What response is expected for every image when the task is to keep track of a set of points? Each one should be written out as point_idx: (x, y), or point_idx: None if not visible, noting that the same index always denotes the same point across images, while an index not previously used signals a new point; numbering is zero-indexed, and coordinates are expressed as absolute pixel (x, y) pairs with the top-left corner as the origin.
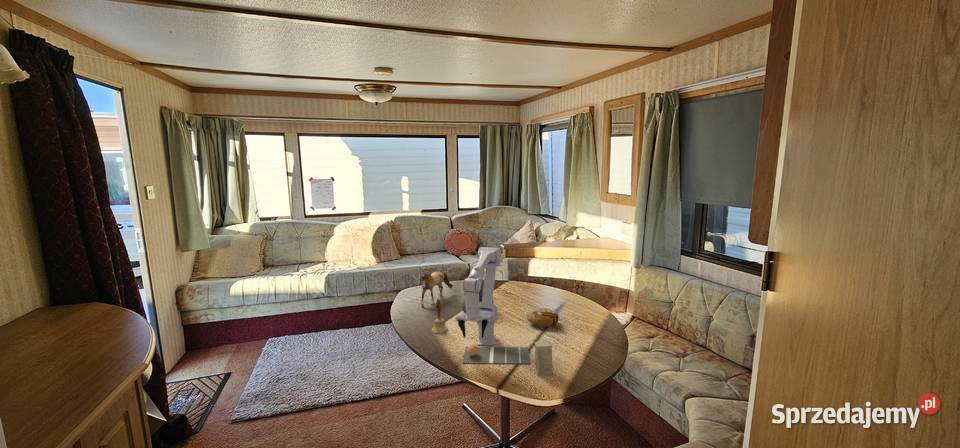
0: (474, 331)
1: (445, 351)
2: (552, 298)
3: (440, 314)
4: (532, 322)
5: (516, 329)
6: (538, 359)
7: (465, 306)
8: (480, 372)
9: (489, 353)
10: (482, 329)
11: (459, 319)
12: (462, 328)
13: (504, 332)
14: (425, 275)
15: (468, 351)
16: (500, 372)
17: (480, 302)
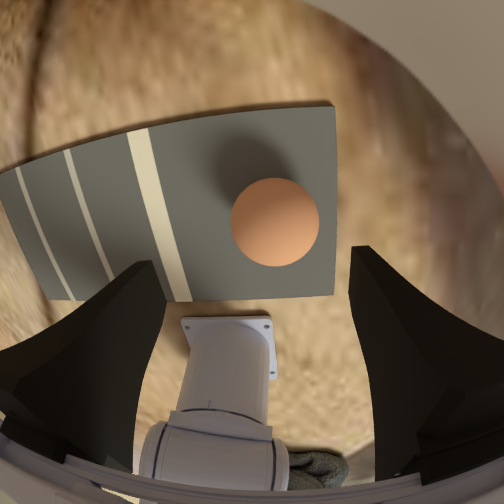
0: (301, 397)
1: (439, 245)
2: (134, 465)
3: None
4: None
5: (146, 400)
6: None
7: (338, 471)
8: (183, 18)
9: (178, 237)
10: (81, 323)
11: (490, 470)
12: (431, 324)
13: (179, 391)
14: None
15: (304, 193)
16: (74, 57)
17: (289, 485)
